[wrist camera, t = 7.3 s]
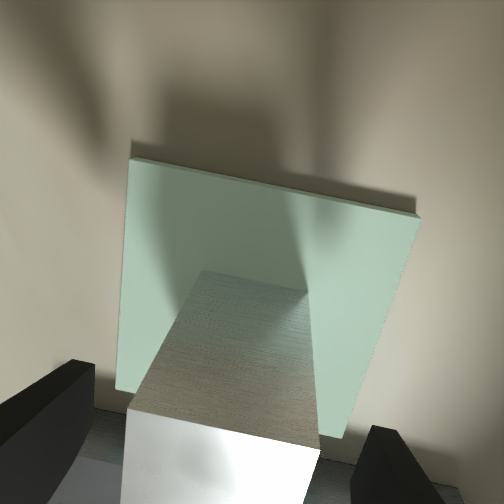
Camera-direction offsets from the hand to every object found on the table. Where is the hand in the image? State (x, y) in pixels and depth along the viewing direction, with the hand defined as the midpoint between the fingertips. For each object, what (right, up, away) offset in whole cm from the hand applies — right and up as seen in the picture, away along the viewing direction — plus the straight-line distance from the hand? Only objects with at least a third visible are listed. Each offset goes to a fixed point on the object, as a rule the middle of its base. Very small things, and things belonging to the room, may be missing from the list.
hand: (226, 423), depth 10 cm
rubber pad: (+1, +2, +6) cm, 6 cm away
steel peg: (0, +2, +5) cm, 5 cm away
